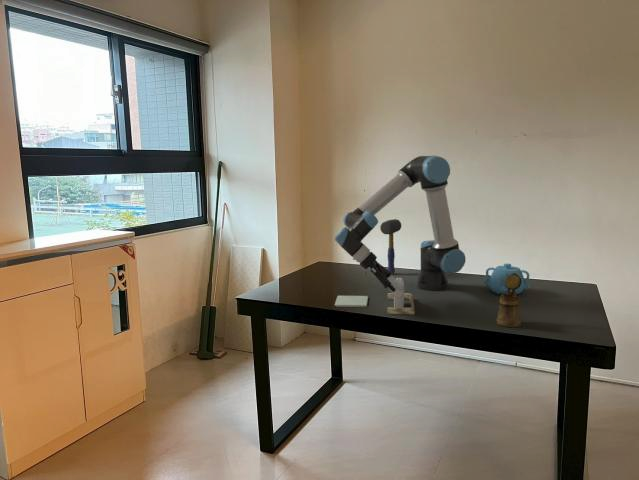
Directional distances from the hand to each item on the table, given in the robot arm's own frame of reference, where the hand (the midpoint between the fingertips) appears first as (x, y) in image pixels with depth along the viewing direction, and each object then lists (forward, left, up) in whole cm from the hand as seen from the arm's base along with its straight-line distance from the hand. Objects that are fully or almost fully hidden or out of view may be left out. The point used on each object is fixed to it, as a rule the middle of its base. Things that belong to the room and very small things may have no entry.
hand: (400, 291), depth 213 cm
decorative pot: (-50, -23, -7) cm, 55 cm away
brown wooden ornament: (-42, +18, -7) cm, 46 cm away
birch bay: (0, 0, -7) cm, 7 cm away
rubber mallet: (+3, -57, -7) cm, 58 cm away
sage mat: (+21, -5, -7) cm, 23 cm away
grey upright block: (0, 0, -7) cm, 7 cm away
